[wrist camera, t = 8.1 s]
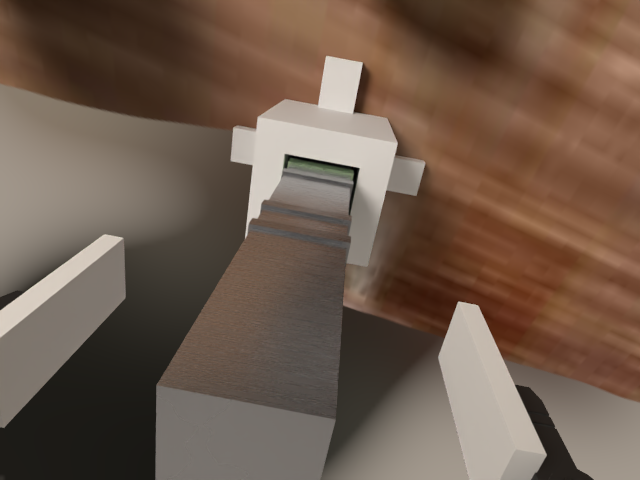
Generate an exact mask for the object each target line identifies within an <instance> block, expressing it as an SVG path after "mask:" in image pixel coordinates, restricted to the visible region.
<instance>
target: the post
mask: <svg viewBox="0 0 640 480" xmlns="http://www.w3.org/2000/svg"><path fill="white" fill-rule="evenodd" d="M351 167H352V166H347V165H342V164H336V163H331V162H326V161H321V160H315V159H310V158H305V157H299V156H295V157H294V159H292V158H290V160H289V161H288V167H287V169H286V168H284V169H283V171H282V176H281V180H280V182H279V184H278V185H277V187H276V189H275V190H274V192H273V194H272V195H271V197H270V199H269V200H265V199H264V200H263V202H262V204H261V210H260V215H259V217H258V218H257V219H256V218H252V219H251V221H250V222H249V225H248V234H247V237H246V238H245V240H244V242H243V243H242V245H241V247H240V248H239V250H238V251H237V253H236V255H235V256H234V258H233V260H232V262H231V263H230V265H229V267H228V268H227V270H226V272H225V273H224V275H223V276H222V278H221V280H220V281H219V283H218V285H217V286H216V288H215V290H214V291H213V293H212V295H211V296H210V298H209V300H208V301H207V303H206V304H205V306H204V308H203V309H202V311H201V313H200V314H199V316H198V318H197V319H196V321H195V323H194V324H193V326H192V328H191V329H190V332H189V333H188V334H187V336H186V338H185V339H184V341H183V343H182V344H181V346H180V348H179V349H178V351H177V353H176V354H175V356H174V357H173V359H172V361H171V363H170V364H169V366H168V367H167V369H166V371H165V372H164V374H163V376H162V377H161V379H160V381H159V382H158V384H157V401H156V403H157V404H156V405H157V406H156V480H320V479H321V475H322V471H323V467H324V463H325V459H326V455H327V451H328V448H329V444H330V440H331V436H332V432H333V427H334V424H335V419H336V403H337V388H338V372H339V357H340V356H339V355H340V341H341V325H342V324H341V323H342V309H343V293H344V278H345V267H346V263H347V258H348V254H349V249H350V244H351V236H349V231H350V227H351V222H352V216H350V215H349V202H350V198H351V193H352V188H353V181H352V180H353V175H354V170H351Z"/></svg>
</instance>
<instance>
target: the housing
mask: <svg viewBox="0 0 640 480" xmlns="http://www.w3.org/2000/svg"><path fill="white" fill-rule="evenodd" d="M362 65H363V62H357V61H352V60H347V59H341V58H336V57H331V56H326V60H325V66H324V73H323V79H322V85H321V91H320V97H319V104H318V105H314V104H309V103H304V102H298V101H293V100H288V99H285V100H283V101H281V102H280V103H278V104H277V105H275V106H274V107H272V108H271V109H269V110H268V111H266V112H265V113H263V114H262V115H260V116H259V117H258V121H257V129H254V128H248V127H243V126H238V125H237V126H235V127H234V128H233V140H232V151H231V161H233V162H239V163H244V164H249V165H253V168H252V178H251V187H250V197H249V207H248V216H247V226H246V235H245V238H246V237H247V234H248V225H249V222H250V221H251V219H252V218H256V219H257V218H258V217H259V215H260V210H261V204H262V202H263V200H264V199H265V200H269V199H270V197H271V195H272V194H273V192H274V190H275V189H276V187H277V185H278V184H279V182H280V180H281V176H282V171H283V169H284V168H286V169H287V167H288V161H289V160H290V158H292V159H294V157H295V156H299V157H305V158H310V159H315V160H321V161H326V162H331V163H336V164H342V165H347V166H352V167H353V170H354V175H353V180H352V181H353V188H352V193H351V198H350V202H349V215H350V216H352V222H351V227H350V231H349V236H351V244H350V249H349V254H348V258H347V263H348V264H354V265H359V266H364V267H368V263H369V259H370V255H371V251H372V247H373V243H374V239H375V234H376V230H377V226H378V222H379V218H380V214H381V210H382V206H383V202H384V198H385V193H386V190H387V191H393V192H398V193H403V194H409V195H414V196H417V192H418V188H419V185H420V181H421V177H422V174H423V170H424V167H425V162H424V160H419V159H414V158H408V157H403V156H398V155H395V153H396V148H397V144H398V143H397V140H396V138H395V135H394V133H393V131H392V128H391V126H390V124H389V121H388V119H387V118H384V117H379V116H373V115H368V114H363V113H357V112H353V111H354V106H355V101H356V96H357V91H358V85H359V80H360V75H361V70H362Z"/></svg>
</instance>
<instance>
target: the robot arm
mask: <svg viewBox="0 0 640 480" xmlns="http://www.w3.org/2000/svg"><path fill="white" fill-rule="evenodd" d="M124 299H125V264H124V238H121V237H116V236H110V235H105V234H104V235H103V236H101V237H100V238H99V239H97V240H96V241H95V242H93V243H92V244H91V245H89V246H88V247H86V248H85V249H84V250H82V251H81V252H80V253H78V254H77V255H75V256H74V257H73V258H71V259H70V260H69V261H67V262H66V263H64V264H63V265H62V266H60V267H59V268H58V269H56V270H55V271H54V272H52V273H51V274H49V275H48V276H47V277H45V278H44V279H43V280H41V281H40V282H39V283H37V284H36V285H34V286H33V287H32V288H30V289H29V290H28V291H26V292H21V291H15V292H12V293H10V294H7V295H5V296H2V297H0V427H5V426H6V425H7V424H8V423H9V422H10V421H11V420H12V418H13V417H14V416H15V415H16V414H17V413H18V412H19V411H20V410H21V409H22V408H23V407H24V405H26V404H27V402H28V401H29V400H30V399H31V398H32V397H33V396H34V395H35V394H36V393H37V392H38V391H39V390H40V389H41V387H42V386H43V385H44V384H45V383H46V382H47V381H48V380H49V379H50V378H51V377H52V376H53V375H54V373H56V371H57V370H58V369H59V368H60V367H61V366H62V365H63V364H64V363H65V362H66V361H67V360H68V358H70V356H71V355H72V354H73V353H74V352H75V351H76V350H77V349H78V348H79V347H80V346H81V345H82V344H83V343H84V342H85V340H86V339H87V338H88V337H89V336H90V335H91V334H92V333H93V332H94V331H95V330H96V329H97V328H98V326H100V324H101V323H102V322H103V321H104V320H105V319H106V318H107V317H108V316H109V315H110V314H111V313H112V312H113V310H114V309H115V308H116V307H117V306H118V305H119V304H120V303H121V302H122V301H123V300H124ZM438 359H439V363H440V367H441V371H442V374H443V379H444V383H445V387H446V390H447V394H448V398H449V402H450V406H451V410H452V414H453V418H454V422H455V426H456V429H457V433H458V438H459V441H460V446H461V450H462V453H463V457H464V461H465V465H466V469H467V473H468V477H469V480H593V479H592V478H591V477H590V476H589V475H587V474H585V473H583V472H582V471H580V470H578V469H577V468H576V466H575V464H574V462H573V460H572V458H571V456H570V454H569V453H568V450H567V449H566V447H565V445H564V443H563V441H562V439H561V437H560V435H559V433H558V431H557V429H555V425H554V423H553V421H552V420H551V418H550V417H549V414H548V412H547V410H546V408H545V406H544V404H543V402H542V400H541V399H540V398H539V397H538V396H537V395H536V394H535V393H534V392H533V391H532V390H531V389H530V388H529V387H524V386H519V385H514V383H513V380H512V378H511V376H510V374H509V372H508V369H507V367H506V365H505V363H504V361H503V359H502V356H501V354H500V352H499V350H498V348H497V346H496V343H495V341H494V339H493V337H492V335H491V333H490V330H489V328H488V326H487V324H486V322H485V319H484V317H483V315H482V313H481V311H480V309H479V306H478V305H474V304H469V303H464V302H458V304H457V306H456V309H455V312H454V315H453V317H452V320H451V323H450V326H449V329H448V331H447V334H446V337H445V340H444V342H443V345H442V348H441V351H440V354H439V356H438Z"/></svg>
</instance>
